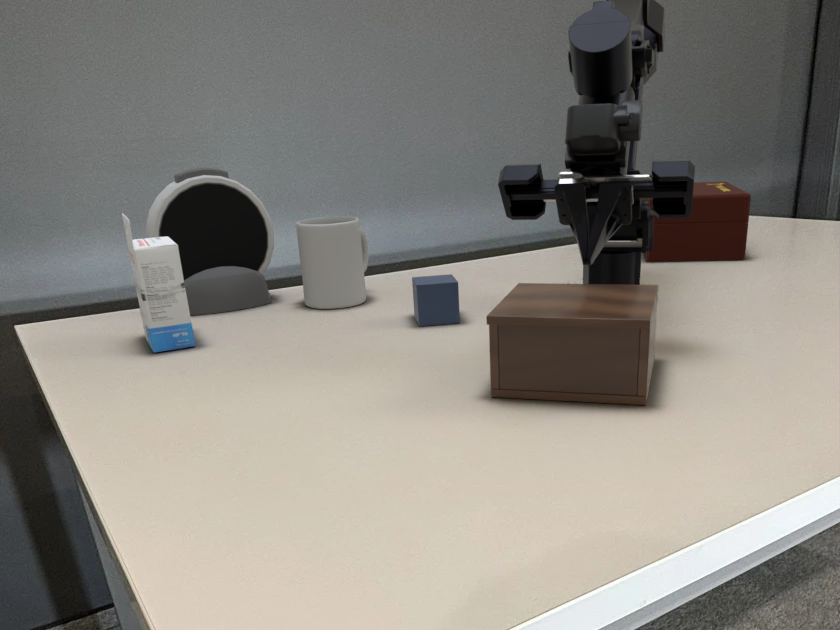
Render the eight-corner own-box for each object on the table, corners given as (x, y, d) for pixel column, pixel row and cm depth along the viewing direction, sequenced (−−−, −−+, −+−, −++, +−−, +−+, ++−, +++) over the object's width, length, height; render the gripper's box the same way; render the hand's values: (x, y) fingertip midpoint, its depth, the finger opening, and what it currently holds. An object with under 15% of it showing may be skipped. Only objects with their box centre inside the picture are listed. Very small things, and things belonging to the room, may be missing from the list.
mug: (341, 311, 105) (332, 225, 100) (292, 306, 109) (281, 223, 104) (392, 292, 114) (387, 213, 110) (345, 288, 118) (338, 212, 114)
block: (453, 313, 101) (451, 274, 99) (459, 323, 96) (458, 281, 94) (414, 316, 100) (411, 277, 98) (419, 326, 96) (416, 285, 94)
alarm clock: (169, 320, 105) (141, 174, 97) (157, 306, 113) (130, 170, 106) (288, 302, 111) (270, 164, 104) (268, 290, 120) (250, 161, 112)
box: (629, 241, 146) (631, 184, 142) (722, 238, 143) (727, 180, 139) (637, 262, 127) (640, 196, 123) (745, 259, 124) (752, 193, 120)
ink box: (198, 346, 92) (174, 215, 86) (153, 354, 90) (126, 219, 84) (186, 331, 99) (164, 208, 93) (144, 337, 97) (118, 212, 91)
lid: (649, 329, 64) (650, 319, 64) (486, 324, 68) (486, 315, 68) (658, 293, 76) (658, 284, 76) (518, 290, 80) (518, 282, 79)
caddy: (646, 405, 68) (650, 327, 65) (490, 397, 71) (488, 323, 69) (654, 361, 79) (658, 293, 76) (519, 356, 82) (518, 291, 80)
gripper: (500, 76, 77) (475, 210, 71) (702, 64, 72) (691, 207, 66) (517, 157, 87) (497, 279, 81) (696, 151, 82) (686, 281, 76)
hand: (586, 262), depth 76 cm, fingers closed
